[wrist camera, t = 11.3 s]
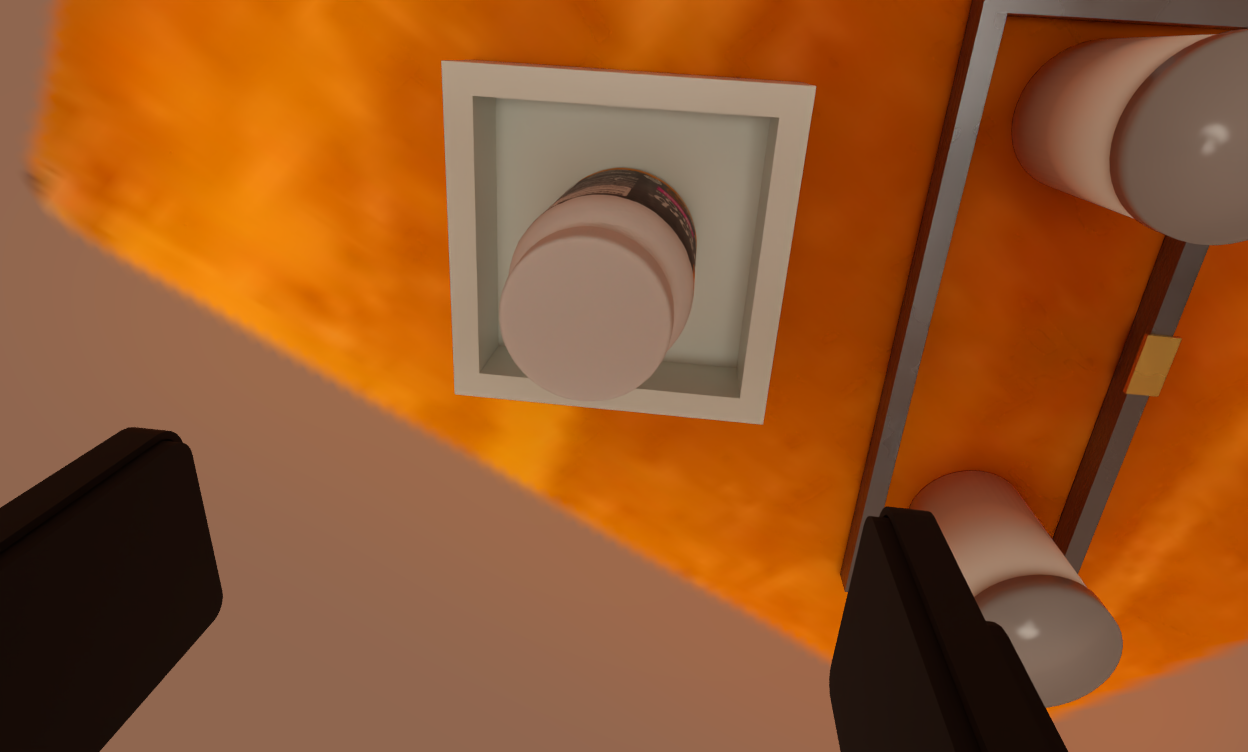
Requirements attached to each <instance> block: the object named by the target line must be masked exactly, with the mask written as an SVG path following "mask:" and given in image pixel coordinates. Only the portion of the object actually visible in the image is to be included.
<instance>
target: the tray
mask: <svg viewBox="0 0 1248 752" xmlns="http://www.w3.org/2000/svg"><path fill="white" fill-rule="evenodd" d="M441 63H442V88H443V113H444V138H445V163H446V188H447V213H448V238H449V263H450V287H451V312H452V337H453V362H454V387H455V394H458V395H468V396H478V397H488V398H498V399H508V400H518V401H529V402H539V403H549V404H559V405H569V406H579V407H589V408H600V409H610V410H620V411H630V412H640V413H650V414H660V415H670V416H681V417H691V418H701V419H711V420H721V421H731V422H741V423H751V424H762V425H763V421H764V414H765V408H766V402H767V395H768V389H769V383H770V376H771V370H772V364H773V357H774V351H775V345H776V338H777V332H778V326H779V319H780V313H781V307H782V300H783V294H784V288H785V281H786V275H787V269H788V263H789V256H790V250H791V244H792V237H793V231H794V225H795V218H796V212H797V206H798V199H799V193H800V187H801V180H802V174H803V168H804V161H805V155H806V149H807V142H808V136H809V130H810V123H811V117H812V111H813V104H814V98H815V92H816V86H814V85H810V84H806V83H803V82H790V81H775V80H761V79H746V78H731V77H717V76H702V75H687V74H673V73H658V72H643V71H629V70H614V69H599V68H585V67H570V66H555V65H541V64H526V63H511V62H497V61H482V60H445V61H441ZM617 167H624V168H635V169H639V170H643V171H646V172H649V173H651V174H653V175H655V176H657V177H659V178H661V179H662V180H664V181H665V182H666V183H668V184H669V185H670V186H671V187H673V188H674V189H675V190H676V192H677V193H678V194H679V195H680V196H681V198H682V199H683V201H684V202H685V203H686V205H687V207H688V209H689V211H690V213H691V216H692V218H693V222H694V226H695V231H696V239H697V250H696V265H695V282H694V296H693V302H692V308H691V311H690V314H689V317H688V320H687V322H686V325H685V327H684V329H683V331H682V332H681V334H680V336H679V337H678V339H677V340H676V341H675V343H674V344H673V345H672V347H671V348H670V349H669V350H668V351H667V352H666V354H665V356H664V358H663V360H662V362H661V363H660V365H659V367H658V368H657V369H656V371H655V372H654V373H653V374H652V375H651V376H650V377H649V378H648V379H647V380H646V381H645V382H644V383H643V384H641V385H640V386H639V387H637V388H636V389H634V390H632V391H631V392H629V393H627V394H625V395H622V396H619V397H616V398H613V399H609V400H603V401H576V400H571V399H567V398H563V397H560V396H557V395H555V394H552V393H550V392H548V391H546V390H545V389H543V388H541V387H540V386H538V385H537V384H535V383H534V382H533V381H532V380H530V379H529V378H528V377H527V376H526V375H525V374H524V373H523V372H522V371H521V370H520V369H519V367H518V366H517V365H516V363H515V362H514V361H513V359H512V357H511V356H510V354H509V352H508V350H507V348H506V346H505V343H504V340H503V338H502V334H501V329H500V321H499V306H500V299H501V295H502V291H503V288H504V285H505V282H506V280H507V278H508V276H509V269H510V264H511V261H512V257H513V254H514V251H515V249H516V247H517V244H518V242H519V240H520V239H521V237H522V236H523V234H524V233H525V232H526V230H527V229H528V228H529V227H530V225H531V224H532V223H533V222H534V221H535V220H536V219H537V218H538V217H539V216H540V215H541V214H543V213H544V212H545V211H546V210H547V209H548V208H549V207H550V206H551V205H552V204H553V203H555V202H556V201H557V200H558V199H559V198H560V197H561V196H562V195H563V194H564V193H565V192H566V191H567V190H568V189H569V188H571V187H572V186H573V185H574V184H576V183H577V182H579V181H580V180H581V179H583V178H585V177H587V176H589V175H591V174H593V173H595V172H598V171H601V170H605V169H609V168H617Z"/></svg>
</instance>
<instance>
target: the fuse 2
mask: <svg viewBox="0 0 1248 752" xmlns="http://www.w3.org/2000/svg"><path fill="white" fill-rule="evenodd" d="M1012 142H1013V147H1014V151H1015V153H1016V156H1017V159H1018V160H1019V162H1020V164H1021V166H1022V167H1023V168H1024V169H1025V171H1026V172H1027V173H1028V174H1029V175H1030V176H1032V177H1033V178H1034V179H1036V180H1037V181H1039V182H1040V183H1043V184H1045V185H1047V186H1049V187H1052V188H1055V189H1057V190H1060V191H1063V192H1065V193H1068V194H1070V195H1073V196H1076V197H1078V198H1081V199H1084V200H1086V201H1089V202H1092V203H1094V204H1097V205H1099V206H1102V207H1105V208H1107V209H1110V210H1113V211H1115V212H1118V213H1121V214H1123V215H1126V216H1128V217H1131V218H1134V219H1135V220H1137V221H1138V222H1140V223H1141V224H1143V225H1144V226H1146V227H1148V228H1150V229H1152V230H1154V231H1157V232H1159V233H1162V234H1165V235H1167V236H1170V237H1172V238H1175V239H1177V240H1181V241H1184V242H1188V243H1193V244H1200V245H1223V244H1232V243H1236V242H1241V241H1246V240H1248V29H1239V30H1232V31H1227V32H1223V33H1219V34H1212V35H1186V36H1161V37H1136V38H1110V39H1097V40H1090V41H1087V42H1083V43H1080V44H1077V45H1075V46H1072V47H1070V48H1068V49H1066V50H1064V51H1062V52H1060V53H1059V54H1057V55H1056V56H1055V57H1053V58H1052V59H1050V60H1049V61H1048V62H1047V63H1046V64H1044V65H1043V66H1042V67H1041V68H1040V69H1039V70H1038V71H1037V72H1036V74H1035V75H1034V76H1033V77H1032V79H1031V80H1030V81H1029V82H1028V84H1027V85H1026V87H1025V89H1024V90H1023V92H1022V94H1021V96H1020V98H1019V100H1018V103H1017V106H1016V109H1015V112H1014V116H1013V121H1012Z"/></svg>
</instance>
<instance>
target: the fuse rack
mask: <svg viewBox="0 0 1248 752" xmlns="http://www.w3.org/2000/svg"><path fill="white" fill-rule="evenodd" d="M1007 16H1022V17H1039V18H1055V19H1071V20H1088V21H1104V22H1121V23H1137V24H1153V25H1170V26H1186V27H1202V28H1219V29H1235V30H1239V29H1248V0H972V4H971V9H970V13H969V17H968V22H967V26H966V30H965V35H964V39H963V43H962V48H961V52H960V56H959V61H958V65H957V70H956V74H955V78H954V83H953V87H952V91H951V96H950V100H949V104H948V109H947V113H946V117H945V122H944V126H943V130H942V135H941V139H940V143H939V148H938V152H937V156H936V161H935V165H934V169H933V174H932V178H931V182H930V187H929V191H928V195H927V200H926V204H925V208H924V213H923V217H922V222H921V226H920V230H919V235H918V239H917V243H916V248H915V252H914V256H913V261H912V265H911V269H910V274H909V278H908V282H907V287H906V291H905V295H904V300H903V304H902V308H901V313H900V317H899V321H898V326H897V330H896V334H895V339H894V343H893V347H892V352H891V356H890V360H889V365H888V369H887V374H886V378H885V382H884V387H883V391H882V395H881V400H880V404H879V408H878V413H877V417H876V421H875V426H874V430H873V434H872V439H871V443H870V447H869V452H868V456H867V460H866V465H865V469H864V473H863V478H862V482H861V486H860V491H859V495H858V499H857V504H856V508H855V512H854V517H853V521H852V526H851V530H850V534H849V539H848V543H847V547H846V552H845V556H844V560H843V565H842V569H841V573H840V575H841V579H842V583H843V586H844V590H845V592H848V591H849V586H850V582H851V578H852V573H853V569H854V565H855V560H856V556H857V552H858V548H859V543H860V539H861V535H862V530H863V526H864V523H865V520H866V518H867V517H868V516H875V517H879V516H880V513H881V511H882V509H883V508H884V505H885V501H886V497H887V493H888V489H889V485H890V481H891V477H892V473H893V469H894V465H895V461H896V457H897V453H898V449H899V445H900V441H901V437H902V433H903V429H904V425H905V421H906V417H907V413H908V409H909V405H910V401H911V397H912V393H913V389H914V385H915V381H916V377H917V373H918V369H919V365H920V361H921V357H922V353H923V349H924V345H925V341H926V337H927V333H928V329H929V325H930V321H931V317H932V313H933V309H934V305H935V301H936V297H937V293H938V289H939V285H940V281H941V277H942V273H943V269H944V265H945V261H946V257H947V253H948V249H949V245H950V241H951V237H952V233H953V229H954V225H955V221H956V217H957V213H958V209H959V205H960V201H961V197H962V193H963V189H964V185H965V181H966V177H967V173H968V169H969V165H970V161H971V157H972V153H973V149H974V145H975V141H976V137H977V133H978V129H979V125H980V121H981V117H982V113H983V109H984V105H985V101H986V97H987V93H988V89H989V85H990V81H991V77H992V73H993V69H994V65H995V61H996V57H997V53H998V49H999V45H1000V41H1001V37H1002V33H1003V29H1004V25H1005V21H1006V17H1007ZM1208 247H1209V245H1200V244H1193V243H1188V242H1184V241H1181V240H1177V239H1175V238H1172V237H1170V236H1167V235H1166V237H1165V239H1164V242H1163V245H1162V247H1161V250H1160V253H1159V255H1158V258H1157V261H1156V263H1155V266H1154V269H1153V271H1152V274H1151V277H1150V279H1149V282H1148V285H1147V288H1146V290H1145V293H1144V296H1143V298H1142V301H1141V304H1140V306H1139V309H1138V312H1137V314H1136V317H1135V320H1134V322H1133V325H1132V328H1131V330H1130V333H1129V336H1128V339H1127V341H1126V344H1125V347H1124V349H1123V352H1122V355H1121V357H1120V360H1119V363H1118V365H1117V368H1116V371H1115V373H1114V376H1113V379H1112V381H1111V384H1110V387H1109V389H1108V392H1107V395H1106V398H1105V400H1104V403H1103V406H1102V408H1101V411H1100V414H1099V416H1098V419H1097V422H1096V424H1095V427H1094V430H1093V432H1092V435H1091V438H1090V440H1089V443H1088V446H1087V449H1086V451H1085V454H1084V457H1083V459H1082V462H1081V465H1080V467H1079V470H1078V473H1077V475H1076V478H1075V481H1074V483H1073V486H1072V489H1071V491H1070V494H1069V497H1068V499H1067V502H1066V505H1065V508H1064V510H1063V513H1062V516H1061V518H1060V521H1059V524H1058V526H1057V529H1056V532H1055V534H1054V537H1053V541H1054V542H1055V544H1056V545H1057V546H1058V548H1059V549H1060V551H1061V552H1062V553H1063V555H1064V556H1065V558H1066V559H1067V560H1068V562H1069V563H1070V564H1071V566H1072V567H1073V569H1074V570H1075V571H1076V573H1077V574H1078V572H1079V570H1080V567H1081V565H1082V562H1083V560H1084V557H1085V555H1086V552H1087V550H1088V547H1089V545H1090V542H1091V540H1092V537H1093V535H1094V532H1095V530H1096V527H1097V525H1098V522H1099V520H1100V517H1101V515H1102V512H1103V510H1104V507H1105V505H1106V502H1107V500H1108V497H1109V495H1110V492H1111V490H1112V487H1113V485H1114V482H1115V480H1116V477H1117V475H1118V472H1119V470H1120V467H1121V465H1122V462H1123V460H1124V457H1125V455H1126V452H1127V450H1128V447H1129V445H1130V442H1131V440H1132V437H1133V435H1134V432H1135V430H1136V427H1137V425H1138V422H1139V420H1140V417H1141V415H1142V412H1143V410H1144V407H1145V405H1146V402H1147V400H1148V397H1149V396H1157V397H1158V396H1159V393H1160V391H1161V388H1162V386H1163V384H1164V381H1165V379H1166V376H1167V374H1168V371H1169V369H1170V366H1171V364H1172V361H1173V359H1174V356H1175V354H1176V352H1177V349H1178V347H1179V344H1180V342H1181V339H1182V338H1180V337H1179V336H1173V335H1174V332H1175V330H1176V327H1177V325H1178V322H1179V320H1180V317H1181V315H1182V312H1183V310H1184V307H1185V305H1186V302H1187V300H1188V297H1189V295H1190V292H1191V290H1192V287H1193V285H1194V282H1195V280H1196V277H1197V275H1198V272H1199V270H1200V267H1201V265H1202V262H1203V260H1204V257H1205V255H1206V252H1207V250H1208Z"/></svg>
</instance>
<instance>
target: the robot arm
mask: <svg viewBox="0 0 1248 752" xmlns="http://www.w3.org/2000/svg"><path fill="white" fill-rule="evenodd" d="M222 599H223V594H222V588H221V583H220V579H219V574H218V570H217V565H216V560H215V556H214V551H213V546H212V542H211V538H210V533H209V528H208V524H207V519H206V515H205V510H204V506H203V501H202V496H201V492H200V487H199V483H198V478H197V473H196V469H195V464H194V460H193V455H192V452H191V450H190V448H189V446H188V445H186V444H184V443H183V442H182V440H181V438H180V437H179V436H178V435H177V434H176V433H174V432H172V431H165V430H155V429H146V428H136V427H131V428H127V429H124V430H121V431H120V432H118V433H117V434H115V435H114V436H112V437H110V438H109V439H107V440H106V441H104V442H103V443H101V444H99V445H98V446H96V447H95V448H93V449H92V450H90V451H88V452H87V453H85V454H84V455H82V456H81V457H79V458H78V459H76V460H74V461H73V462H71V463H70V464H68V465H67V466H65V467H64V468H62V469H60V470H59V471H57V472H56V473H54V474H53V475H51V476H49V477H48V478H46V479H45V480H43V481H42V482H40V483H38V484H37V485H35V486H34V487H32V488H31V489H29V490H28V491H26V492H24V493H23V494H21V495H20V496H18V497H17V498H15V499H13V500H12V501H10V502H9V503H7V504H6V505H4V506H2V507H1V508H0V752H100V750H101V749H102V748H103V747H104V746H105V745H106V743H107V742H108V741H109V740H110V739H111V738H112V737H113V736H114V734H115V733H116V732H117V731H118V730H119V729H120V727H121V726H122V725H123V724H124V723H125V722H126V720H127V719H128V718H129V717H130V716H131V715H132V714H133V713H134V711H135V710H136V709H137V708H138V707H139V706H140V705H141V703H142V702H143V701H144V700H145V699H146V698H147V697H148V695H149V694H150V693H151V692H152V691H153V690H154V688H155V687H156V686H157V685H158V684H159V683H160V682H161V681H162V679H163V678H164V677H165V676H166V675H167V673H169V671H170V670H171V669H172V668H173V667H174V666H175V664H176V663H177V662H178V661H179V660H180V659H181V658H182V657H183V655H184V654H185V653H186V652H187V651H188V650H189V649H190V647H191V646H192V645H193V644H194V643H195V642H196V641H197V639H198V638H199V637H200V636H201V635H202V634H203V633H204V631H205V630H206V629H207V628H208V627H209V626H210V625H211V623H212V622H213V621H214V620H215V618H216V617H217V615H218V613H219V611H220V608H221V605H222ZM829 681H830V682H829V683H830V684H829V687H830V698H831V703H832V709H833V714H834V719H835V724H836V729H837V735H838V740H839V745H840V751H841V752H1068V750H1067V748H1066V747H1065V745H1064V743H1063V741H1062V739H1061V737H1060V735H1059V733H1058V731H1057V729H1056V727H1055V725H1054V723H1053V721H1052V719H1051V718H1050V716H1049V714H1048V712H1047V710H1046V708H1045V706H1044V704H1043V702H1042V700H1041V698H1040V696H1039V694H1038V692H1037V690H1036V689H1035V687H1034V685H1033V683H1032V681H1031V679H1030V677H1029V675H1028V673H1027V671H1026V669H1025V667H1024V665H1023V663H1022V661H1021V660H1020V658H1019V656H1018V654H1017V652H1016V650H1015V648H1014V646H1013V644H1012V642H1011V640H1010V638H1009V636H1008V635H1007V634H1006V632H1005V631H1004V629H1003V628H1002V626H1000V625H999V624H997V623H995V622H992V621H986V620H985V618H984V616H983V614H982V612H981V610H980V608H979V606H978V604H977V602H976V600H975V598H974V596H973V594H972V592H971V590H970V588H969V586H968V584H967V582H966V580H965V578H964V576H963V574H962V572H961V570H960V568H959V565H958V563H957V561H956V559H955V557H954V555H953V553H952V551H951V549H950V547H949V545H948V543H947V541H946V539H945V537H944V535H943V533H942V531H941V529H940V527H939V525H938V523H937V521H936V519H935V517H934V515H933V514H932V513H931V512H929V511H924V510H914V509H905V508H895V507H885V508H883V509H882V511H881V513H880V516H879V517H875V516H868V517H867V518H866V520H865V523H864V526H863V530H862V535H861V539H860V543H859V548H858V552H857V556H856V560H855V565H854V569H853V573H852V578H851V582H850V586H849V591H848V595H847V599H846V603H845V608H844V612H843V616H842V621H841V625H840V629H839V634H838V638H837V642H836V646H835V651H834V655H833V659H832V664H831V669H830V678H829Z"/></svg>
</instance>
